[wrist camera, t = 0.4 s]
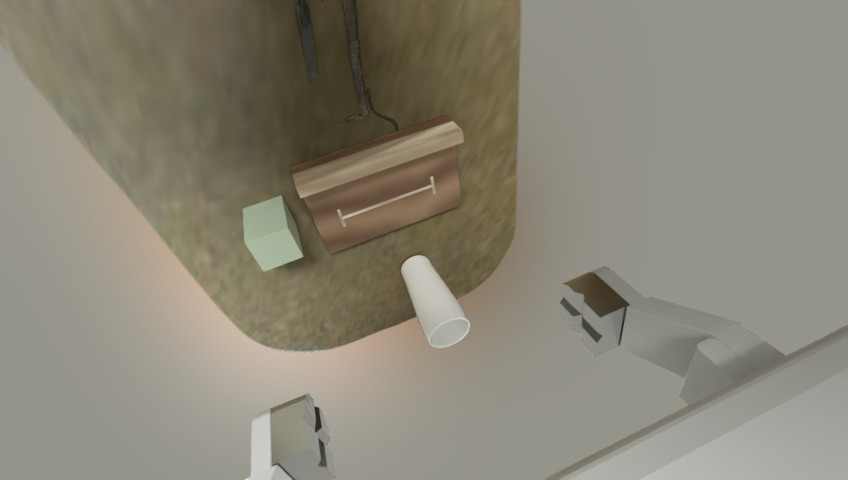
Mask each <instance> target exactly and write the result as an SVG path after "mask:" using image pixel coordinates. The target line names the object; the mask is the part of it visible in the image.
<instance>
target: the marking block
mask: <svg viewBox="0 0 848 480" xmlns="http://www.w3.org/2000/svg"><path fill="white" fill-rule="evenodd" d="M243 224H244V241H245V244H246V246H247V247H248V249H249V250H250V252H251V253H252V255H253V256H254V258H255V259H256V261H257V262H258V264H259V265H260V267H261V268H262V270H263V271H267V270H270V269H273V268H275V267H278V266H281V265H283V264H286V263H289V262H291V261H294V260H297V259H300V258H302V257H303V252H302V248H301V243H300V239H299V234H298V230H297V225H296V223H295V221H294V219H293V217H292V215H291V213H290V211H289V209H288V207H287V205H286V203H285V201H284V199H283V197H282V195H281V196H278V197H275V198H272V199H270V200H267V201H264V202H261V203H258V204H255V205H252V206H249V207H246V208H243Z"/></svg>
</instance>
